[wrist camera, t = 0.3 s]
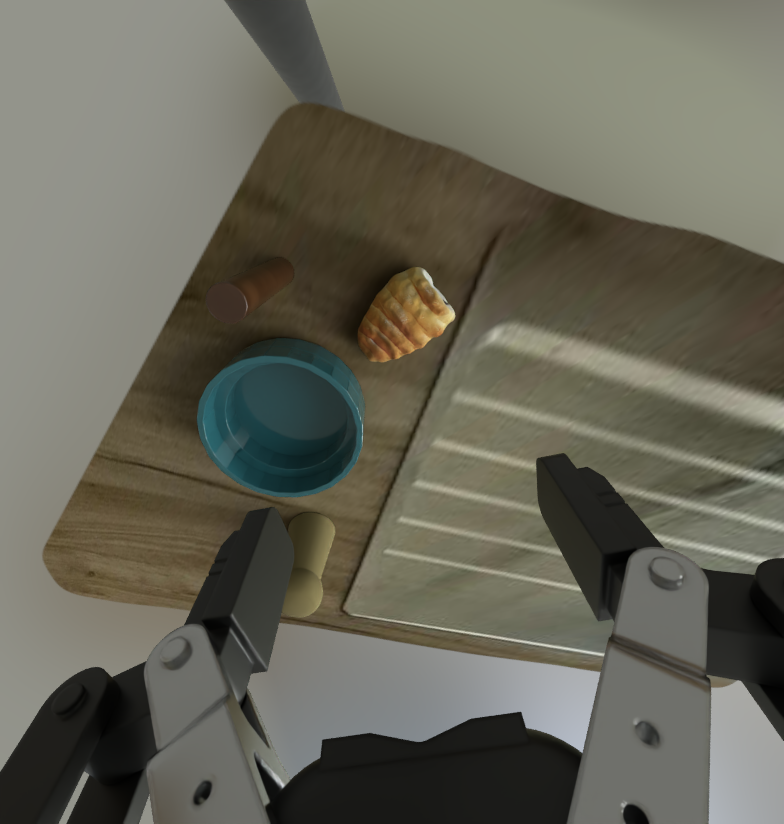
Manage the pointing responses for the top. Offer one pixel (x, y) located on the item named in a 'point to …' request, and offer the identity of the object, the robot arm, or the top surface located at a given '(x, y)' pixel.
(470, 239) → the top surface
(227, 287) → the stirring stick
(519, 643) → the top surface
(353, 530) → the top surface
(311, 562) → the cork
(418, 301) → the pastry
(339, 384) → the bowl
